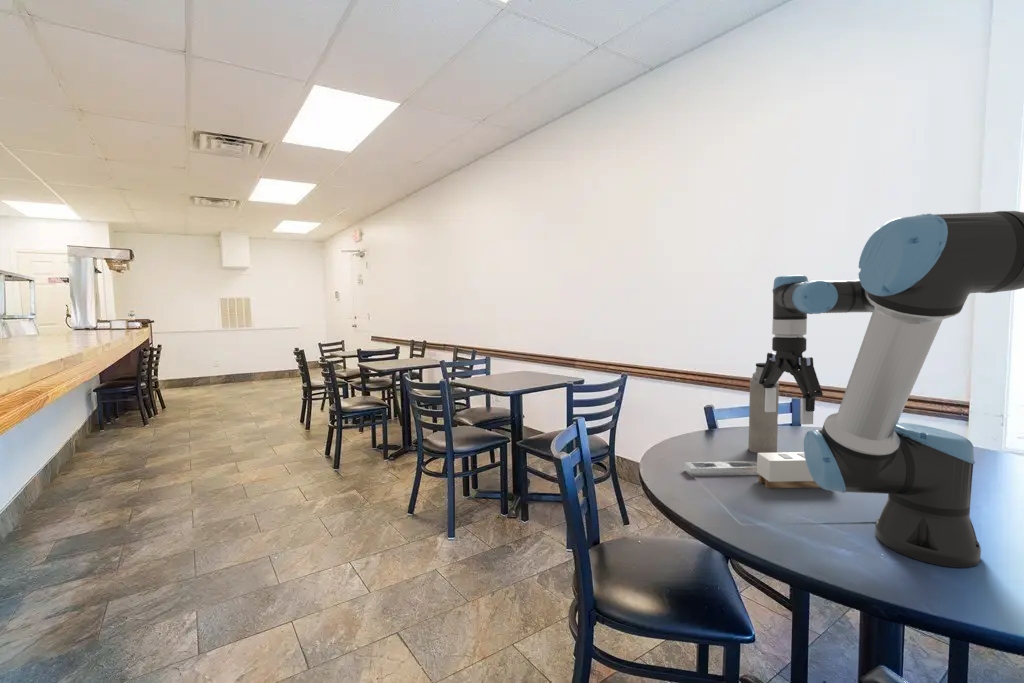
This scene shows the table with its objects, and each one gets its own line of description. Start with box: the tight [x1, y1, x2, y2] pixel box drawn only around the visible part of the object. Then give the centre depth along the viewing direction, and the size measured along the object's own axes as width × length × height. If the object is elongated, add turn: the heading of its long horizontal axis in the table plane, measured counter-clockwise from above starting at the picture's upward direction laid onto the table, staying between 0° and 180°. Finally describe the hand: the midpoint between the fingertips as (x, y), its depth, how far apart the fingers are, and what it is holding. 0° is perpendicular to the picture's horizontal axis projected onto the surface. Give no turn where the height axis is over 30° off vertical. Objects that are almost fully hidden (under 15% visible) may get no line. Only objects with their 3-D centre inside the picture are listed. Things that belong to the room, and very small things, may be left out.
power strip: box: [756, 451, 814, 482], centre depth 117 cm, size 16×6×8 cm, turn 89°
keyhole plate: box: [684, 460, 759, 478], centre depth 127 cm, size 5×20×2 cm, turn 89°
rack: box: [758, 474, 821, 489], centre depth 117 cm, size 16×4×2 cm, turn 89°
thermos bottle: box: [747, 362, 780, 454], centre depth 143 cm, size 8×8×28 cm
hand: (787, 417), depth 118 cm, fingers open, 13 cm apart
